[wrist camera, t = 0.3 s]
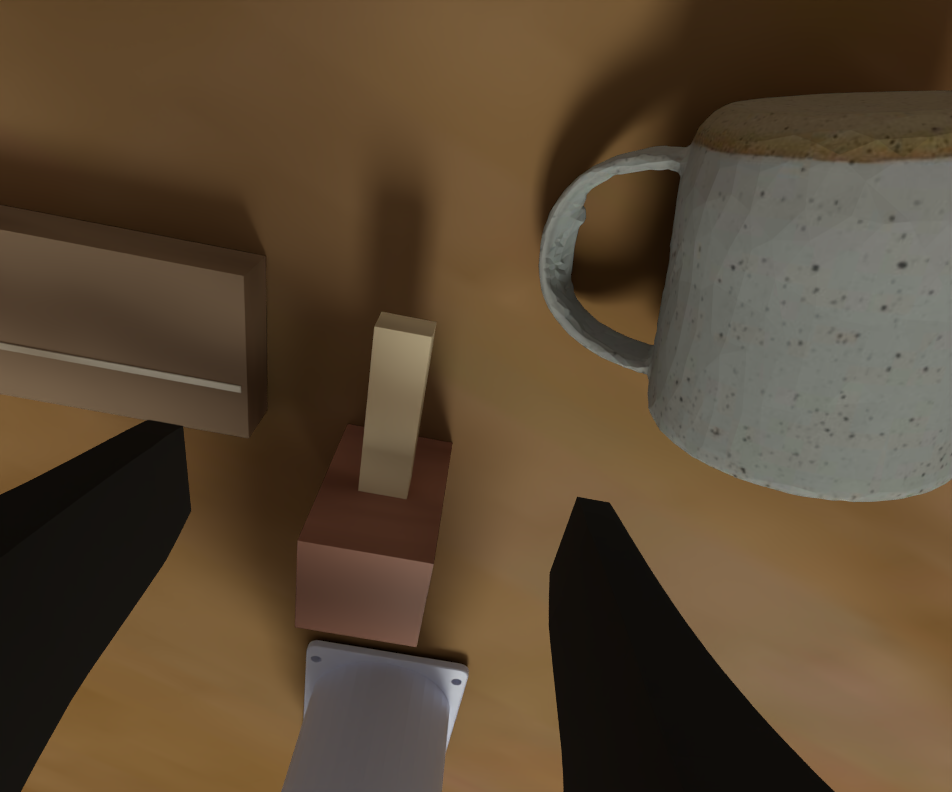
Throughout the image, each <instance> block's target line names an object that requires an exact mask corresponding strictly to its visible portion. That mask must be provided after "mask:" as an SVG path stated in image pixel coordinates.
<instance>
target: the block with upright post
mask: <svg viewBox="0 0 952 792" xmlns="http://www.w3.org/2000/svg"><path fill="white" fill-rule="evenodd" d="M435 328H436V322H434V321H428V320H423V319H418V318H413V317H407V316H402V315H397V314H392V313H386V312H381V314H380V316H379V318H378V320H377V322H376V324H375V326H374V336H373V346H372V356H371V366H370V376H369V386H368V397H367V407H366V417H365V427H362V426H357V425H351V424H347V426H346V429H345V431H344V433H343V436H342V438H341V440H340V443H339V445H338V447H337V450H336V452H335V454H334V457H333V459H332V461H331V464H330V466H329V468H328V471H327V473H326V475H325V478H324V480H323V482H322V485H321V487H320V489H319V492H318V494H317V496H316V499H315V501H314V503H313V506H312V508H311V510H310V513H309V515H308V517H307V520H306V522H305V524H304V526H303V529H302V531H301V533H300V536H299V538H298V540H297V574H296V610H295V627H297V628H303V629H309V630H315V631H321V632H328V633H334V634H340V635H346V636H352V637H358V638H364V639H370V640H376V641H382V642H388V643H394V644H400V645H406V646H412V647H417V642H418V638H419V633H420V628H421V623H422V618H423V613H424V609H425V604H426V599H427V594H428V589H429V584H430V580H431V575H432V570H433V565H434V559H435V552H436V546H437V539H438V533H439V527H440V520H441V514H442V507H443V501H444V494H445V488H446V481H447V475H448V468H449V462H450V455H451V449H452V443H450V442H445V441H439V440H434V439H428V438H423V437H418V434H419V428H420V422H421V416H422V409H423V403H424V397H425V390H426V384H427V378H428V372H429V365H430V359H431V353H432V347H433V340H434V334H435Z"/></svg>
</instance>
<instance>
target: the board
mask: <svg viewBox="0 0 952 792" xmlns="http://www.w3.org/2000/svg"><path fill="white" fill-rule="evenodd" d="M0 394H3V395H9V396H14V397H20V398H25V399H31V400H36V401H42V402H48V403H53V404H59V405H64V406H70V407H76V408H81V409H87V410H92V411H98V412H104V413H109V414H115V415H120V416H126V417H131V418H137V419H143V420H153V421H159V422H165V423H170V424H176V425H181V426H183V427H187V428H193V429H199V430H204V431H210V432H215V433H221V434H227V435H232V436H238V437H243V438H249V437H250V436H251V434H252V433H253V431H254V430H255V428H256V427H257V425H258V424H259V422H260V421H261V419H262V418H263V416H264V414H265V413H266V411H267V323H266V256H263V255H258V254H252V253H247V252H242V251H237V250H232V249H226V248H221V247H216V246H211V245H206V244H201V243H195V242H190V241H185V240H180V239H175V238H170V237H164V236H159V235H154V234H149V233H144V232H139V231H133V230H128V229H123V228H118V227H113V226H107V225H102V224H97V223H92V222H87V221H82V220H76V219H71V218H66V217H61V216H56V215H51V214H45V213H40V212H35V211H30V210H25V209H20V208H14V207H9V206H4V205H0Z"/></svg>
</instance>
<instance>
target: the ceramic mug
mask: <svg viewBox="0 0 952 792" xmlns="http://www.w3.org/2000/svg"><path fill="white" fill-rule="evenodd" d="M650 169H651V170H666V169H669V170H672V171H675V172H678V173H679V175H680V177H681V178H680V183H679V189H678V195H677V202H676V210H675V218H674V224H673V233H672V238H671V243H670V260H669V265H668V271H667V276H666V282H665V288H664V291H663V295H662V301H661V307H660V313H659V318H658V322H657V332H656V336H655V340H654V345H649V344H647V343H644V342H640V341H637V340H634V339H632V338H629V337H627V336H625V335H622V334H620V333H618V332H616V331H614V330H612V329H611V328H609V327H607V326H606V325H604V324H602V323H600V322H598V321H597V320H596V319H595V318H594V317H593V316H592V315H591V314H590V313H589V312H588V311H587V310H585V309H584V308H583V306H582V305H581V303H580V302H579V301H578V300H577V298H576V296H575V293H574V287H573V284H572V281H571V272H572V265H573V257H574V247H575V242H576V238H577V234H578V230H579V226H580V225H581V224H582V223H583V222H584V221H585V219H586V210H585V208H584V206H583V205H584V202H585V200H586V195H587V193H588V192H589V191H590V190H591V189H592V188H594V187H596V186H597V185H599V184H600V183H602V182H604V181H606V180H608V179H609V178H611V177H612V176H613V175H616V174H626V173H632V172H638V171H644V170H650ZM539 275H540V283H541V290H542V293H543V296H544V299H545V301H546V303H547V306H548V308H549V309H550V311H551V313H552V314H553V316H554V317H555V318H556V320H557V321H558V322H559V323H560V324H561V326H562V327H563V328H564V329H565V330H566V331H567V333H568V334H569V335H570V336H572V337H573V338H574V339H575V340H577V341H578V342H579V343H580V344H582V345H583V346H584V347H586V348H587V349H589V350H590V351H592V352H594V353H595V354H597V355H599V356H600V357H602V358H604V359H607V360H609V361H611V362H614V363H616V364H618V365H621V366H623V367H625V368H629V369H632V370H634V371H636V372H639V373H644V374H647V376H648V379H649V385H648V402H649V405H648V408H649V411H650V413H651V415H652V417H653V419H654V421H655V422H656V424H657V426H658V427H659V429H660V430H661V431H662V432H663V433H664V434H665V435H666V436H667V437H668V438H669V439H670V440H671V441H672V442H673V443H675V444H676V445H677V446H679V447H680V448H681V449H683V450H684V451H685V452H687V453H688V454H689V455H691V456H692V457H694V458H696V459H698V460H700V461H702V462H704V463H705V464H707V465H709V466H711V467H713V468H715V469H718V470H720V471H722V472H725V473H727V474H729V475H731V476H734V477H736V478H739V479H742V480H745V481H748V482H751V483H754V484H757V485H761V486H764V487H768V488H771V489H775V490H779V491H782V492H786V493H790V494H794V495H798V496H804V497H812V498H821V499H827V500H845V501H851V502H874V501H885V500H895V499H903V498H907V497H910V496H914V495H919V494H923V493H927V492H929V491H931V490H934V489H936V488H938V487H940V486H942V485H944V484H946V483H947V482H948V481H949V480H951V479H952V91H893V92H854V93H829V94H812V95H799V96H785V97H770V98H761V99H752V100H745V101H738V102H734V103H730V104H727V105H725V106H723V107H722V108H720V109H718V110H716V111H714V112H713V113H712V114H711V115H710V116H709V117H708V118H707V119H706V120H705V121H704V122H703V123H702V125H701V126H700V127H699V128H698V130H697V133H696V135H695V137H694V139H693V141H692V143H691V145H689V146H688V147H669V146H657V147H650V148H646V149H642V150H638V151H633V152H629V153H625V154H621V155H617V156H615V157H612V158H610V159H608V160H606V161H604V162H602V163H599V164H597V165H595V166H593V167H591V168H590V169H589V170H587V171H586V172H584V173H583V174H581V175H580V176H579V177H577V178H576V179H575V180H574V181H573V182H572V183H571V184H570V185H569V186H568V187H567V188H566V189H565V190H564V192H563V193H562V195H561V196H560V197H559V199H558V200H557V202H556V203H555V205H554V206H553V208H552V210H551V211H550V213H549V216H548V220H547V223H546V224H545V226H544V230H543V234H542V240H541V247H540V258H539Z"/></svg>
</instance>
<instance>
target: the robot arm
mask: <svg viewBox="0 0 952 792" xmlns="http://www.w3.org/2000/svg"><path fill="white" fill-rule="evenodd" d="M190 512H191V504H190V494H189V483H188V473H187V462H186V452H185V442H184V431H183V426H181V425H176V424H170V423H165V422H159V421H153V420H147V421H145V422H143V423H141V424H138V425H136V426H134V427H132V428H130V429H128V430H126V431H124V432H122V433H120V434H119V435H117V436H115V437H113V438H111V439H109V440H107V441H105V442H103V443H101V444H100V445H98V446H96V447H94V448H92V449H90V450H88V451H86V452H84V453H82V454H81V455H79V456H77V457H75V458H73V459H71V460H69V461H67V462H65V463H63V464H61V465H59V466H57V467H55V468H53V469H52V470H50V471H48V472H46V473H44V474H42V475H40V476H38V477H36V478H34V479H32V480H30V481H28V482H26V483H24V484H22V485H20V486H18V487H16V488H14V489H11V490H9V491H7V492H5V493H3V494H1V495H0V792H21V790H22V788H23V786H24V785H25V783H26V781H27V779H28V777H29V775H30V773H31V771H32V770H33V768H34V766H35V764H36V762H37V760H38V758H39V757H40V755H41V753H42V751H43V750H44V748H45V746H46V744H47V742H48V741H49V739H50V737H51V735H52V733H53V732H54V730H55V728H56V726H57V725H58V723H59V721H60V719H61V717H62V716H63V714H64V712H65V710H66V709H67V707H68V705H69V703H70V702H71V700H72V698H73V697H74V695H75V694H76V692H77V690H78V689H79V687H80V686H81V684H82V683H83V681H84V679H85V678H86V676H87V675H88V673H89V672H90V670H91V669H92V667H93V666H94V664H95V663H96V662H97V660H98V659H99V657H100V656H101V654H102V653H103V651H104V650H105V649H106V647H107V646H108V644H109V643H110V641H111V640H112V638H113V637H114V636H115V634H116V633H117V631H118V630H119V628H120V627H121V625H122V624H123V623H124V621H125V620H126V618H127V617H128V615H129V614H130V612H131V611H132V610H133V608H134V607H135V605H136V604H137V602H138V601H139V599H140V598H141V597H142V595H143V594H144V592H145V591H146V589H147V588H148V586H149V585H150V583H151V582H152V580H153V579H154V577H155V576H156V574H157V573H158V571H159V570H160V568H161V567H162V565H163V564H164V562H165V561H166V559H167V557H168V555H169V553H170V552H171V550H172V548H173V546H174V544H175V542H176V540H177V538H178V536H179V534H180V532H181V530H182V528H183V526H184V524H185V522H186V520H187V518H188V516H189V514H190ZM549 633H550V643H551V653H552V663H553V673H554V683H555V692H556V702H557V711H558V721H559V730H560V740H561V750H562V765H563V786H564V792H834V791H833V790H832V789H831V788H830V787H829V786H828V785H827V784H826V783H825V782H824V781H823V780H822V779H821V778H820V777H819V776H818V775H817V774H816V773H815V772H814V771H813V770H812V769H811V768H810V767H809V766H808V765H807V764H806V763H805V762H804V761H803V760H802V759H801V757H800V756H799V755H798V754H797V753H796V752H795V751H794V750H793V749H792V748H791V747H790V746H789V745H788V744H787V743H786V742H785V741H784V740H783V739H782V738H781V737H780V736H779V735H778V733H777V732H776V731H775V730H774V729H773V728H772V727H771V726H770V725H769V724H768V723H767V721H766V720H765V719H764V718H763V717H762V716H761V715H760V714H759V713H758V711H757V710H756V709H755V708H754V707H753V706H752V704H751V703H750V702H749V701H748V700H747V699H746V697H745V696H744V695H743V694H742V693H741V692H740V690H739V689H738V688H737V687H736V686H735V684H734V683H733V682H732V681H731V680H730V679H729V677H728V676H727V675H726V674H725V673H724V671H723V670H722V669H721V668H720V666H719V665H718V664H717V663H716V661H715V660H714V659H713V658H712V656H711V655H710V654H709V652H708V651H707V650H706V648H705V647H704V646H703V644H702V643H701V642H700V640H699V639H698V638H697V636H696V635H695V634H694V632H693V631H692V630H691V628H690V627H689V626H688V624H687V623H686V621H685V620H684V619H683V617H682V616H681V614H680V613H679V611H678V610H677V609H676V607H675V606H674V604H673V603H672V601H671V600H670V598H669V597H668V595H667V594H666V592H665V591H664V589H663V588H662V586H661V585H660V583H659V582H658V580H657V579H656V577H655V575H654V574H653V572H652V571H651V569H650V568H649V566H648V564H647V563H646V561H645V560H644V558H643V556H642V555H641V553H640V552H639V550H638V548H637V547H636V545H635V543H634V542H633V540H632V538H631V537H630V535H629V533H628V532H627V530H626V529H625V527H624V525H623V524H622V522H621V520H620V519H619V517H618V515H617V514H616V512H615V510H614V509H613V507H612V506H611V504H610V503H609V502H603V501H597V500H592V499H586V498H581V497H577V499H576V502H575V504H574V507H573V510H572V513H571V516H570V518H569V521H568V524H567V527H566V529H565V532H564V535H563V538H562V540H561V543H560V546H559V549H558V552H557V554H556V557H555V560H554V563H553V565H552V568H551V571H550V582H549ZM468 672H469V671H468V668H467V666H465V665H464V664H460V663H455V662H448V661H442V660H436V659H430V658H424V657H418V656H412V655H406V654H400V653H394V652H388V651H381V650H375V649H369V648H363V647H357V646H351V645H345V644H339V643H333V642H327V641H321V640H314V641H311V642H310V643H309V645H308V648H307V652H306V675H305V697H304V719H303V723H302V727H301V730H300V733H299V736H298V740H297V743H296V746H295V749H294V752H293V756H292V759H291V762H290V765H289V769H288V772H287V775H286V778H285V782H284V785H283V788H282V791H281V792H442V784H443V773H444V763H445V753H446V750H447V747H448V743H449V740H450V736H451V733H452V730H453V726H454V723H455V720H456V716H457V713H458V709H459V706H460V703H461V699H462V696H463V692H464V689H465V686H466V682H467V679H468Z"/></svg>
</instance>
